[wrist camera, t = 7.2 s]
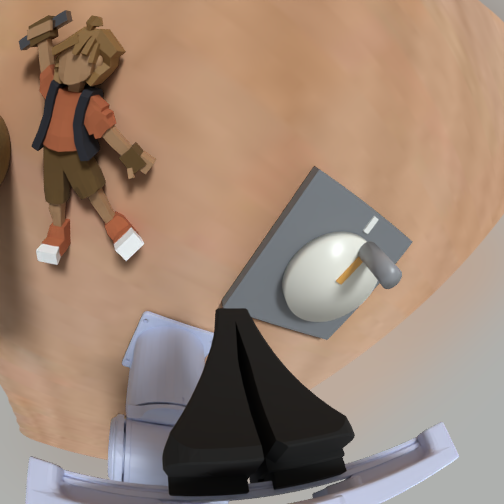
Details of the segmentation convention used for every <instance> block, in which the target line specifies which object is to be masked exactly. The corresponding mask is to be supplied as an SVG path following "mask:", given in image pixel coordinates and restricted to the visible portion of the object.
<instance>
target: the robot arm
mask: <svg viewBox="0 0 504 504" xmlns="http://www.w3.org/2000/svg"><path fill="white" fill-rule="evenodd" d="M145 319H147V320H145ZM207 355H208V357H207V361H206V364H205V357H206V356H207ZM122 365H124V366H126V367H129V368H130V371H129V379H128V387H127V397H126V419H125V418H124V415H123V414H117V417H114V418H112V419H111V425H110V435H109V449H108V477H109V478H110V480H108V479H103V478H98V477H93V476H88V475H83V474H79V473H75V472H71V471H67V470H63V469H62V468H61V467H60V466H58V465H56V464H53V463H50V462H48V461H44V460H41V459H38V458H35V457H32V456H31V457H30V458H29V466H28V476H27V486H26V487H27V488H26V504H228V502H229V501H232V500H242V499H252V498H260V497H267V496H274V495H280V494H285V493H290V492H295V491H300V490H304V489H309V488H313V487H317V486H321V485H325V484H329V483H332V482H335V481H339V480H342V479H345V478H346V479H345V480H344V481H341V482H339V483H336V484H333V485H330V486H327V487H326V488H325V489H323V490H321V491H318V492H316V493H313V498H312V499H308V500H304V501H300V502H294V503H290V504H380V503H382V502H384V501H386V500H388V499H390V498H392V497H394V496H396V495H398V494H400V493H402V492H404V491H406V490H408V489H409V488H411V487H413V486H415V485H416V484H418V483H420V482H421V481H423V480H425V479H426V478H428V477H430V476H431V475H433V474H434V473H436V472H438V471H439V470H441V469H442V468H444V467H445V466H447V465H448V464H450V463H451V462H453V461H454V460H456V459H457V458H458V457H459V455H458V453H457V451H456V448H455V446H454V444H453V442H452V440H451V438H450V436H449V434H448V431H447V429H446V427H445V426H444V423H443V422H440V423H438V424H436V425H434V426H432V427H430V428H428V429H426V430H425V431H423V432H422V433H420V434H419V435H418V436H417V437H416V438H413V439H411V440H409V441H407V442H404V443H402V444H400V445H397V446H395V447H392V448H390V449H387V450H385V451H382V452H380V453H377V454H375V455H372V456H369V457H366V458H363V459H360V460H357V461H354V462H351V463H348V464H344V461H343V458H342V457H343V456H344V451H343V447H345V446H346V445H347V444H348V443H349V442H350V441H352V440H353V438H354V432H353V429H352V427H351V425H350V423H349V421H348V419H347V417H346V416H345V415H343V414H341V413H340V412H338V411H337V410H335V409H333V408H332V407H330V406H329V405H327V404H326V403H325V402H324V401H322V400H321V399H319V398H318V397H317V396H316V395H314V394H313V393H312V392H311V391H310V390H309V389H307V388H306V387H305V386H304V385H303V384H302V383H301V382H300V381H299V380H298V379H297V378H296V377H295V376H294V375H293V374H292V373H291V372H290V371H289V370H288V369H287V368H286V367H285V366H284V365H283V363H282V362H281V361H280V360H279V358H278V357H277V356H276V355H275V353H274V352H273V351H272V349H271V348H270V347H269V345H268V344H267V342H266V341H265V339H264V338H263V336H262V335H261V333H260V332H259V330H258V328H257V327H256V325H255V323H254V321H253V319H252V318H251V316H250V314H249V312H248V310H247V309H246V308H218V309H217V310H216V313H215V331H214V333H212V332H209V331H206V330H203V329H200V328H196V327H193V326H190V325H187V324H184V323H181V322H178V321H175V320H172V319H169V318H166V317H163V316H161V315H158V314H155V313H152V312H149V311H145V312H144V313H143V314H142V317H141V319H140V321H139V323H138V326H137V328H136V330H135V332H134V335H133V337H132V339H131V341H130V344H129V346H128V348H127V351H126V353H125V356H124V358H123V360H122ZM249 477H250V484H248V482H247V480H248V478H249Z"/></svg>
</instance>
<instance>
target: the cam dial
mask: <svg viewBox="0 0 504 504" xmlns="http://www.w3.org/2000/svg"><path fill="white" fill-rule="evenodd" d="M401 277H402V272H401V271H400V269H399V268H398V267H397V266H396V265H395V264H394V263H393V262H392V261H391V260H390V259H389V257H388V256H387V255H386V254H385V253H384V252H383V251H382V250H381V249H380V248H379V247H378V246H377V245H376V244H375V243H374V242H372V241H369V242H367V241H366V240H365V239H364V238H362V237H361V236H359V235H357V234H354V233H351V232H332V233H328V234H325V235H322V236H320V237H318V238H316V239H314V240H312V241H310V242H309V243H307V244H306V245H305V246H303V247H302V248H301V249H300V250H299V251H298V252H297V253H296V254H295V255H294V256H293V258H292V259H291V260H290V262H289V264H288V265H287V267H286V270H285V272H284V275H283V280H282V290H283V294H284V297H285V299H286V302H287V305H288V307H289V308H290V310H291V311H292V312H293V314H295V315H296V316H297V317H299V318H301V319H303V320H306V321H310V322H326V321H331V320H334V319H338V318H340V317H342V316H345V315H346V314H348V313H350V312H352V311H353V310H355V309H356V308H357V307H359V306H360V305H361V304H362V303H363V302H364V301H365V300H366V299H367V298H368V296H369V295H370V294H371V292H372V291H373V289H374V288H375V286H376V284H377V281H379V282H380V284H381V285H382V286H383V288H385V289H390V288H393V287H394V286H396V285H397V284H398V283H399V281H400V279H401Z"/></svg>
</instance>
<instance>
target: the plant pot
mask: <svg viewBox="0 0 504 504" xmlns="http://www.w3.org/2000/svg"><path fill="white" fill-rule="evenodd" d="M9 161H10V139H9V133H8V130H7V127H6V124H5V122H4V120H3V118H2V117H1V116H0V185H1V183H2V181H3V180H4V178H5V176H6V173H7V170H8V167H9Z"/></svg>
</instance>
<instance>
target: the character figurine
mask: <svg viewBox="0 0 504 504" xmlns="http://www.w3.org/2000/svg"><path fill="white" fill-rule="evenodd" d="M71 21H72V16H71V11H66V10H65V11H63V12H62V13H60V14H58V15H57V16H49V15H48V16H46V17H45V18H43V19H41V20H39V21H38V22H36V23H34V24H32V25H31V26H29V30H27V35H26V36H25V37H24V38H22V39H21V40H20V41H19V44H20V49H21V50H27V49H28V48H30V47H38V52H39V63H40V70H41V74H40V92H41V94H42V95H43V97H44V98H45V99H46V100H45V106H44V114H43V117H42V120H41V123H40V126H39V130H38V132H37V134H36V137H35V139H34V141H33V144H32V147H33V148H34V149H36V150H37V151H39V150H40V149H41V148H43V147H44V192H45V199H46V201H47V202H48V203H50V204H49V211H50V214H51V217H52V220H53V223H52V224H51V225H50V228H49V231H48V235H47V238H46V239H45V240H44V241H43V242H42V244H41V245H40V246H39V247H38V249H37V250H36V253H37V258H38V261H41V262H46V263H51V264H56V265H58V263H59V260H60V257H61V256H62V255H63V254H64V253H65V252H66V250H67V248H68V247H69V245H70V219H65V205H66V201H67V200H68V199H69V197H70V186H72V188H73V189H74V191H75V192H76V193H77V195H78V196H79V197H80V199H81V200H82V199H85V198H87V197H88V198H89V200H90V202H91V204H92V205H93V206H94V208H95V209H96V211H97V212H98V213H99V215H100V216H101V218H102V219H103V220H104V223H105V228H106V231H107V234H108V235H109V236H110V238H111V239H112V240H113V243H114V247H115V251H116V252H117V253H118V254H119V255H121V256H122V257H123V258H124V259H125V260H126V261H127V260H128V259H129V258H130V257H131V256H132V255H133V254H134V253H135V252H136V251H137V250H138V249H139V248H140V247H141V246H143V245H144V242H143V240H142V238H141V237H140V236H139V234H138V232H137V231H136V230H135V229H134V227H133V226H132V225H131V224H130V223H129V221H128V220H127V219H126V218H125V217H124V216H123V215H122V214H120V213H118V212H114V211H113V209H112V207H111V205H110V203H109V201H108V199H107V197H106V195H105V194H104V192H103V190H102V187H103V186H104V184H105V178H104V176H103V173H102V171H101V169H100V167H99V165H98V163H97V162H96V160H95V158H94V155H95V154H96V153H97V152H98V151H99V150H100V146H99V143H98V140H97V138H101V137H103V138H104V139H105V140H106V141H107V143H108V144H109V145H110V146H111V147H112V148H113V149H115V150H116V151H117V152H118V153H119V154H120V155H121V156H120V158H119V159H120V160H121V162H122V163H123V164H124V165H125V166H126V168H127V172H128V179H131V178H135V173H136V172H137V171H139V170H140V171H141V172H143V173H144V174H146V173H147V172H148V171H149V169H150V168H151V167H152V165H153V164H154V162H155V160H156V159H155V158H154V157H152V156H151V155H149V154H148V153H147V152H145V151H143V150H142V149H141V147H140V146H139V145H138V144H137V143H135V144H133V145H131V144H130V143H129V142H128V141H127V140H126V139H125V138H124V137H123V135H122V134H121V133H120V132H119V131H118V130H117V129H116V127H115V126H114V124H116V120H115V116H114V112H113V111H112V110H110V109H109V104H108V103H107V102H106V101H105V100H104V99H103V91H102V89H99V88H96V87H92V86H94V85H98V84H101V83H103V82H104V81H105V80H106V79H107V78H108V77H109V76H110V75H111V74H112V73H113V72H114V70H115V69H116V68H117V67H118V63H119V57H120V56H121V55H123V54H124V53H125V52H126V51H125V50H124V49H123V47H122V46H121V44H120V43H119V42H118V40H117V39H116V37H115V36H114V35H113V33H112V32H111V31H110V30H109V29H96V27H99V26H103V21H102V18H101V17H97V16H91V17H90V18H89V20H88V21H87V22H86V23H87V27H84V28H82V29H81V30H79V31H78V32H76V33H75V34H73V35H72V36H70V37H69V38H68V39H66V40H65V41H63V42H61V43H59V44H58V45H56V46H54V47H53V45H52V39H54V38H56V37H58V29H59V28H61V27H63V26H64V25H66V24H68V23H70V22H71ZM57 54H59V55H58V56H57V58H56V59H55V61H54V55H57ZM85 82H86V83H87V84H89V85H90V86H88V85H85Z"/></svg>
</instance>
